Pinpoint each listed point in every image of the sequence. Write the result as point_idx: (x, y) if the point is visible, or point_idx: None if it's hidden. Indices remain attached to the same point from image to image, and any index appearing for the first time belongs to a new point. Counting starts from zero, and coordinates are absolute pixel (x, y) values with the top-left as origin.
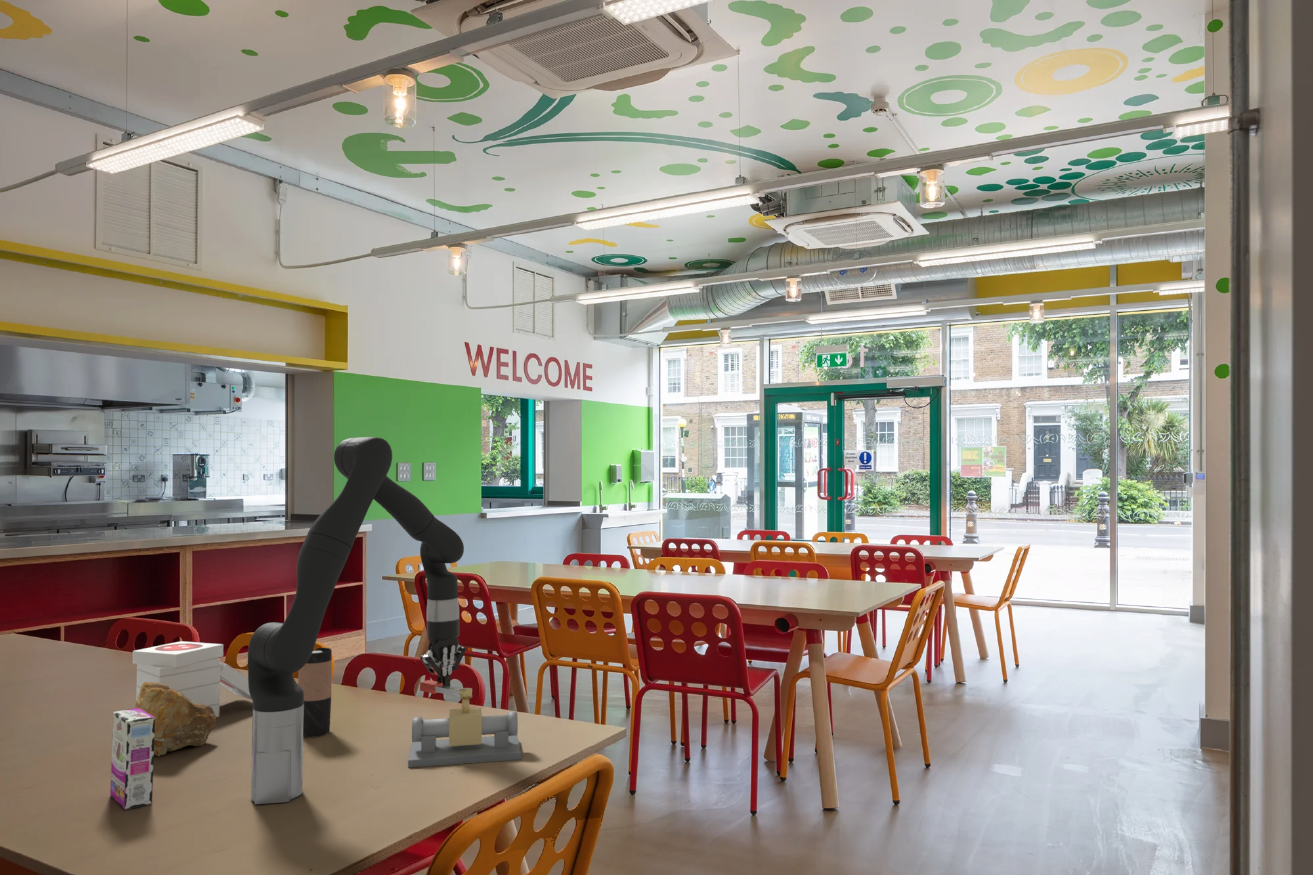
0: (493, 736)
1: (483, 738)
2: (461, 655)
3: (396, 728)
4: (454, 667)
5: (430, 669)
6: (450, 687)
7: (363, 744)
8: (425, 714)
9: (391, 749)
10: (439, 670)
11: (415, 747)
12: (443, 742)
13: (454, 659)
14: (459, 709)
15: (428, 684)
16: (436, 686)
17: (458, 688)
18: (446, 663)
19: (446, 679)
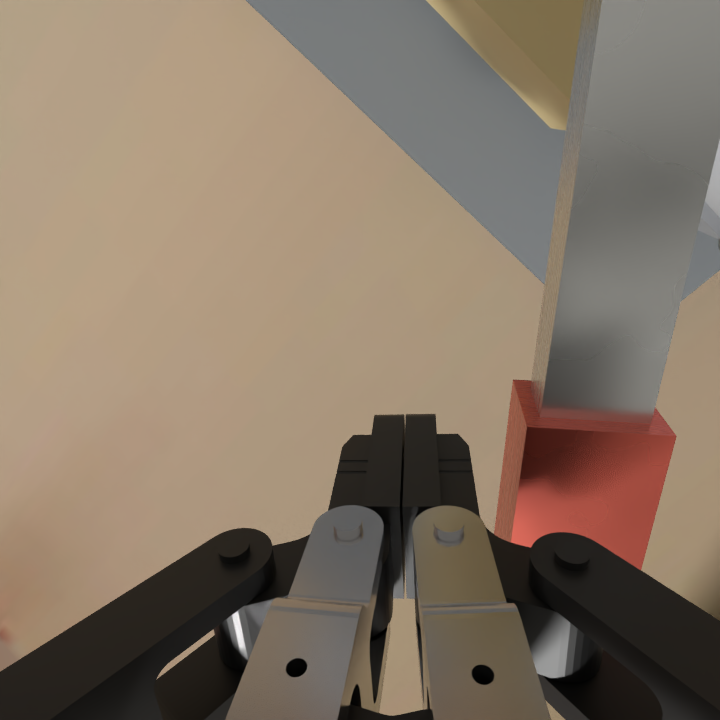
0: (261, 7)
1: (333, 28)
2: (17, 696)
3: (404, 604)
4: (250, 560)
5: (628, 688)
6: (604, 216)
7: (664, 556)
8: (197, 641)
9: (671, 405)
10: (566, 579)
11: (707, 245)
12: (539, 185)
13: (150, 702)
14: (551, 51)
15: (650, 516)
16: (644, 405)
17: (600, 58)
18: (450, 627)
19: (410, 479)
